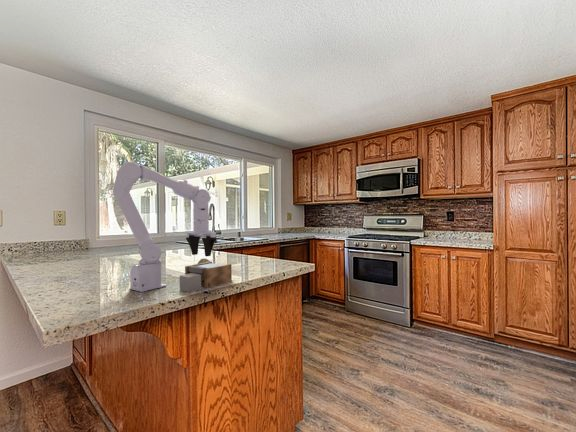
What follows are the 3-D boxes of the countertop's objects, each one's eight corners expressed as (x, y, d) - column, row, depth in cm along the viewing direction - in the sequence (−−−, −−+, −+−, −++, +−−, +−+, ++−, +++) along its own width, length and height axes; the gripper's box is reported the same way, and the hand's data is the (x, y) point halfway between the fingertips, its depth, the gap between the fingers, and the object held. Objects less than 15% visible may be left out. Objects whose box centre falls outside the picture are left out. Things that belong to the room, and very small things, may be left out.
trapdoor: (203, 274, 101) (203, 268, 101) (187, 271, 106) (187, 266, 106) (226, 268, 111) (226, 264, 111) (210, 266, 116) (210, 262, 116)
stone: (189, 292, 95) (188, 277, 95) (179, 290, 98) (179, 275, 98) (201, 288, 99) (201, 274, 99) (192, 287, 102) (191, 273, 102)
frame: (206, 287, 101) (206, 269, 101) (185, 283, 107) (185, 266, 107) (231, 280, 111) (231, 264, 110) (210, 277, 117) (210, 261, 117)
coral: (213, 276, 118) (213, 262, 118) (198, 278, 116) (197, 263, 116) (211, 270, 132) (210, 257, 132) (197, 271, 130) (197, 258, 130)
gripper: (221, 220, 110) (222, 255, 110) (197, 220, 118) (197, 252, 118) (207, 220, 104) (207, 257, 105) (182, 220, 112) (182, 254, 112)
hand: (201, 255), depth 111 cm, fingers open, 7 cm apart
